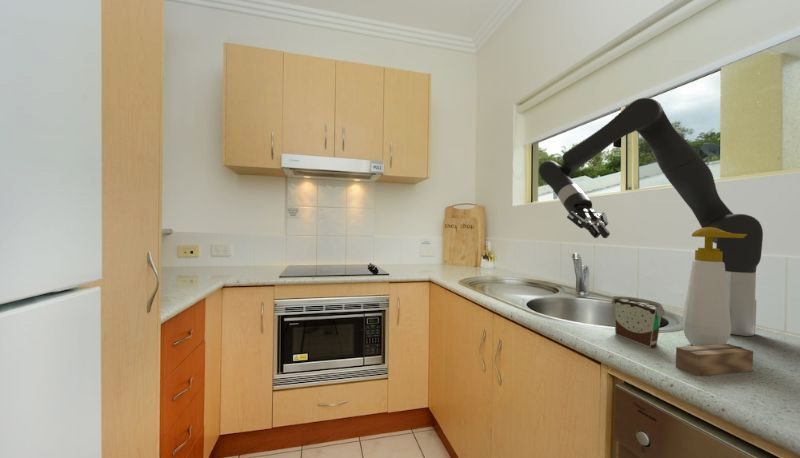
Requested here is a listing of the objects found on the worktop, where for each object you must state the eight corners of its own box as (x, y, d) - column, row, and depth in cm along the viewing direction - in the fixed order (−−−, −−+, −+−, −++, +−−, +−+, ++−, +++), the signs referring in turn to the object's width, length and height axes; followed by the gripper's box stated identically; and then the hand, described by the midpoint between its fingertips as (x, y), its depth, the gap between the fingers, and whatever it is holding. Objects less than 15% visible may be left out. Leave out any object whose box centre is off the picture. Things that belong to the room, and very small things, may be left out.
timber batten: (728, 362, 66) (728, 343, 66) (752, 371, 63) (753, 350, 63) (675, 366, 64) (676, 346, 64) (697, 375, 60) (698, 354, 60)
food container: (677, 349, 74) (679, 306, 74) (656, 350, 72) (658, 307, 72) (629, 331, 86) (630, 295, 86) (610, 332, 84) (611, 295, 84)
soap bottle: (738, 362, 67) (743, 226, 66) (675, 346, 75) (679, 226, 75) (746, 349, 74) (751, 228, 74) (688, 336, 83) (692, 227, 82)
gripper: (562, 190, 104) (590, 227, 92) (597, 192, 107) (629, 228, 95) (550, 207, 109) (576, 244, 97) (585, 208, 112) (613, 244, 100)
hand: (602, 236), depth 96 cm, fingers open, 3 cm apart
